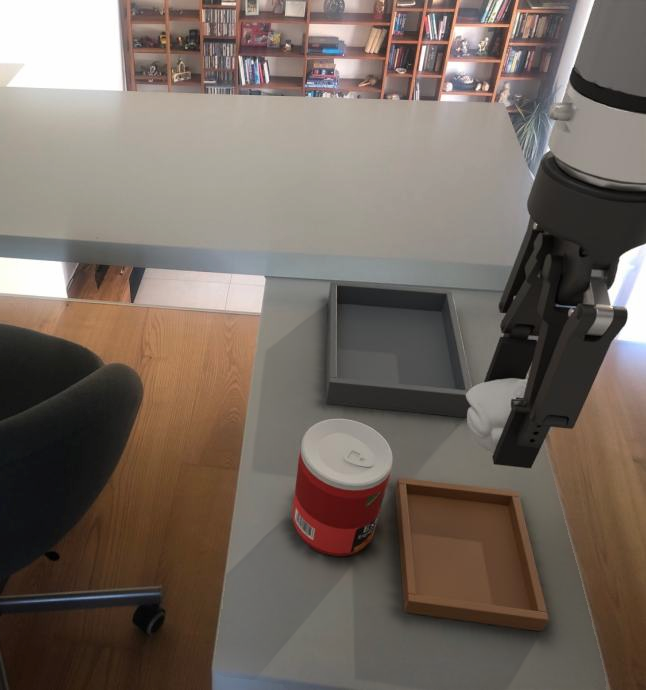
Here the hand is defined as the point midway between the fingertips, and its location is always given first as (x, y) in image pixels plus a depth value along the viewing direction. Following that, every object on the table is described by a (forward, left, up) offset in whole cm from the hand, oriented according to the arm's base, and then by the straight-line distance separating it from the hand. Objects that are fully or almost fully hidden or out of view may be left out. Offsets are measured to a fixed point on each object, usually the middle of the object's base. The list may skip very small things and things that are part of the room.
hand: (503, 429), depth 56 cm
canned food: (+10, +6, -16) cm, 20 cm away
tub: (+18, -20, -16) cm, 31 cm away
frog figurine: (0, 0, -2) cm, 2 cm away
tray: (-1, +1, -16) cm, 16 cm away
